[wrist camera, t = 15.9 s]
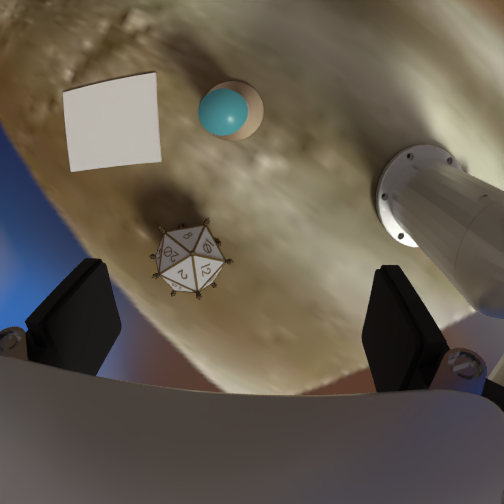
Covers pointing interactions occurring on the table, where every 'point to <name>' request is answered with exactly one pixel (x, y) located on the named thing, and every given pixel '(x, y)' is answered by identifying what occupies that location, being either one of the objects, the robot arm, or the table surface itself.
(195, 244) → the game die
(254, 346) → the table surface
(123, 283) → the table surface
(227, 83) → the disc
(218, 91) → the marker
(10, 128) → the table surface
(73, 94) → the paper
